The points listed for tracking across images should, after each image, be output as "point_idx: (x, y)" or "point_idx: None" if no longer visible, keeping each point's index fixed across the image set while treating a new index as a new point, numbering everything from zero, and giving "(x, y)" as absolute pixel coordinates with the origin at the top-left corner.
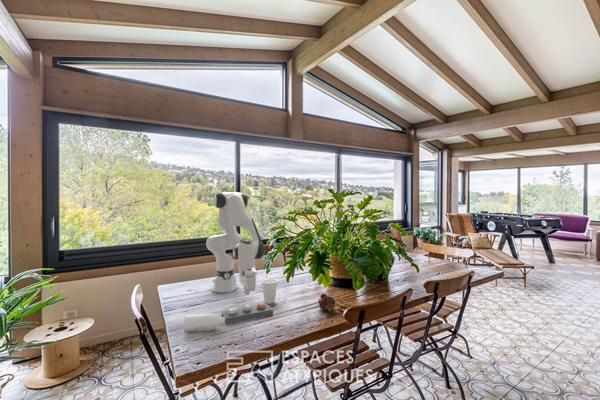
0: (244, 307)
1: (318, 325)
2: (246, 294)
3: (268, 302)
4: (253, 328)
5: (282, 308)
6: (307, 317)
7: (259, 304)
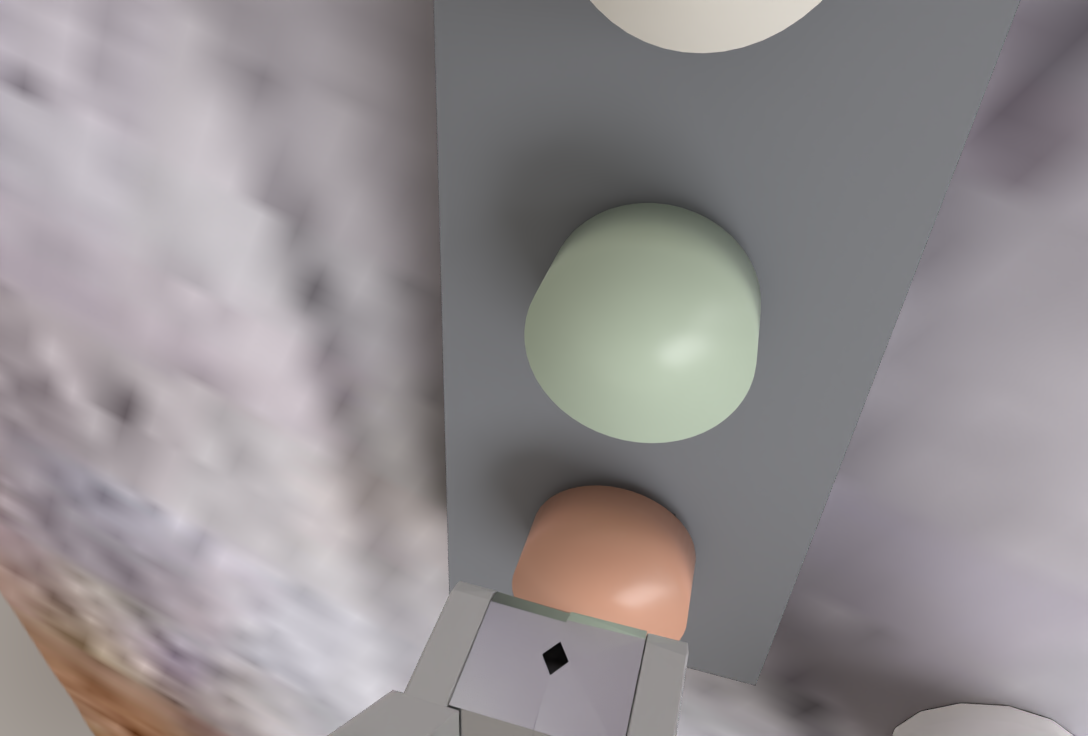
0: (604, 264)
1: (77, 641)
2: (453, 599)
3: (926, 729)
4: (118, 99)
5: None
6: (258, 688)
7: (580, 568)
